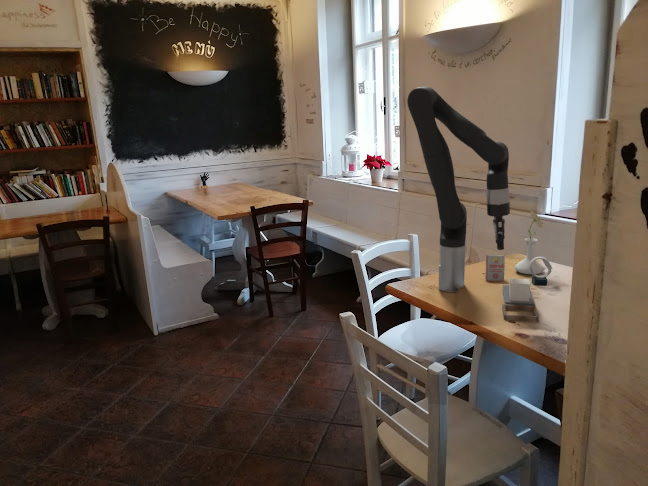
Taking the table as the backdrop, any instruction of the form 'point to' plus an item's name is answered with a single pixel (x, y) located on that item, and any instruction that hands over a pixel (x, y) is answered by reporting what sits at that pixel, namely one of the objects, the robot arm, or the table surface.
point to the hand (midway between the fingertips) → (499, 246)
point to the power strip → (509, 302)
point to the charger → (519, 290)
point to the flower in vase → (530, 252)
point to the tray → (520, 317)
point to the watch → (540, 279)
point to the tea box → (495, 267)
